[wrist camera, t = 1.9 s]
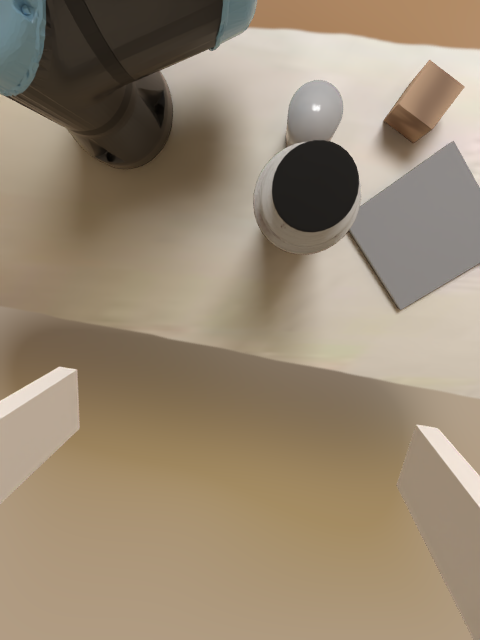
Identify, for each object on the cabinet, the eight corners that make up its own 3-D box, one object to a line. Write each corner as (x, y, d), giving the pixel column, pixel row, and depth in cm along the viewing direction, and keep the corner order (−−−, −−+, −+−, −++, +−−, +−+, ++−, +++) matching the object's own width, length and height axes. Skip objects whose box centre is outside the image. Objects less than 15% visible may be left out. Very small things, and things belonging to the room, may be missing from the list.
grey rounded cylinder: (277, 132, 41) (277, 106, 33) (314, 101, 39) (324, 66, 32) (301, 170, 42) (307, 153, 34) (338, 140, 40) (353, 116, 32)
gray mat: (341, 219, 42) (343, 218, 42) (449, 143, 39) (453, 140, 38) (398, 308, 45) (400, 309, 44) (505, 244, 41) (510, 244, 40)
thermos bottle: (298, 181, 42) (339, 67, 15) (329, 227, 43) (419, 199, 16) (253, 216, 44) (218, 172, 17) (284, 260, 45) (296, 284, 18)
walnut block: (383, 121, 39) (398, 103, 34) (410, 83, 38) (429, 59, 33) (413, 143, 39) (432, 129, 34) (440, 106, 38) (464, 86, 33)
